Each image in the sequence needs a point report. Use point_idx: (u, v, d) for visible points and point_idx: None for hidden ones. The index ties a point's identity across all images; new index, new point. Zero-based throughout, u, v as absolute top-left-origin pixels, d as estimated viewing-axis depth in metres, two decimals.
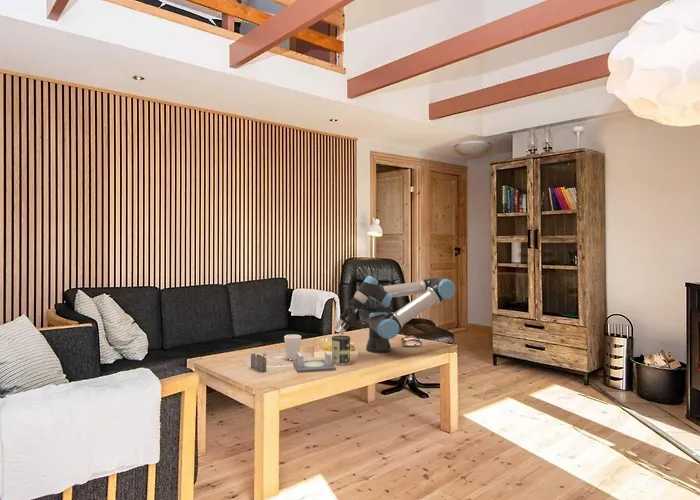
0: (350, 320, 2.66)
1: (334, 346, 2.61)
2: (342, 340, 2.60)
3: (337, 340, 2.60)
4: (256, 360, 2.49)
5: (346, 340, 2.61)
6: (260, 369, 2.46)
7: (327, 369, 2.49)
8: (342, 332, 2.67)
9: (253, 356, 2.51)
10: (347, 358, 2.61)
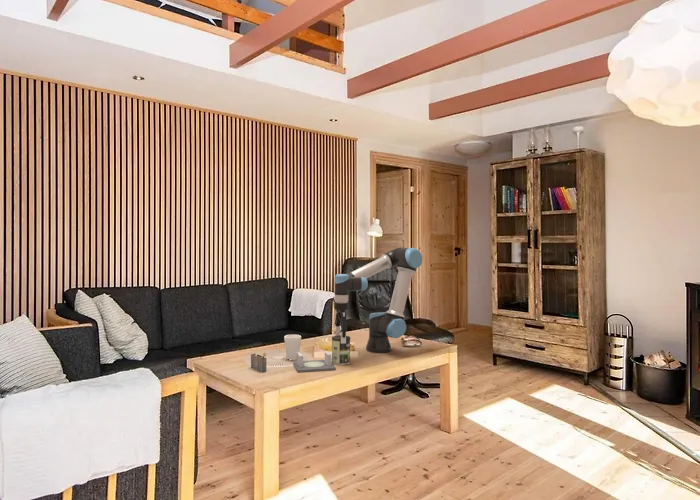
0: (344, 327, 2.55)
1: (334, 346, 2.61)
2: None
3: (337, 340, 2.60)
4: (256, 360, 2.49)
5: (346, 340, 2.61)
6: (260, 369, 2.46)
7: (327, 369, 2.49)
8: (344, 341, 2.58)
9: (253, 356, 2.51)
10: (347, 358, 2.61)
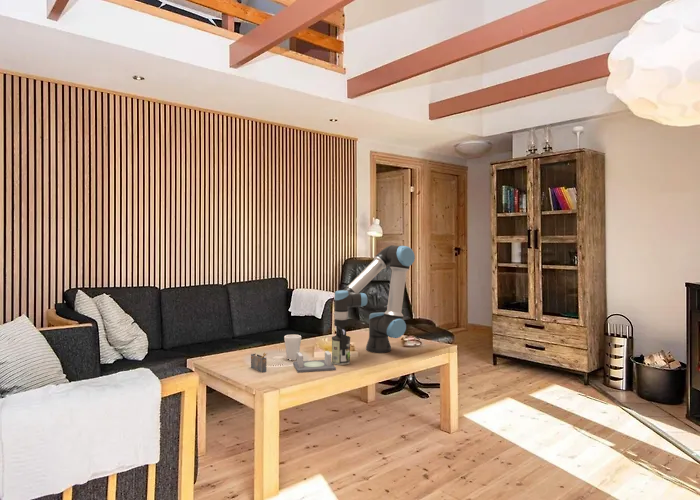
0: (344, 345, 2.56)
1: (334, 346, 2.61)
2: None
3: (337, 340, 2.60)
4: (256, 360, 2.49)
5: None
6: (260, 369, 2.46)
7: (327, 369, 2.49)
8: (344, 359, 2.59)
9: (253, 356, 2.51)
10: (347, 358, 2.61)
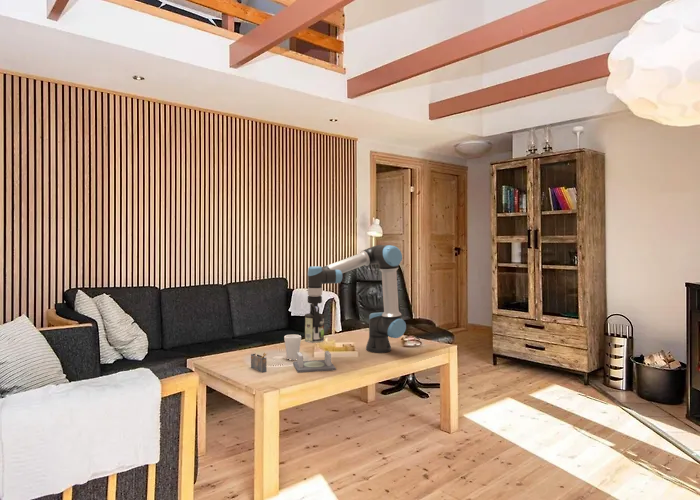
0: (316, 322, 2.47)
1: (307, 323, 2.52)
2: None
3: (310, 317, 2.50)
4: (256, 360, 2.49)
5: (319, 317, 2.51)
6: (260, 369, 2.46)
7: (327, 369, 2.49)
8: (317, 337, 2.50)
9: (253, 356, 2.51)
10: (320, 336, 2.52)
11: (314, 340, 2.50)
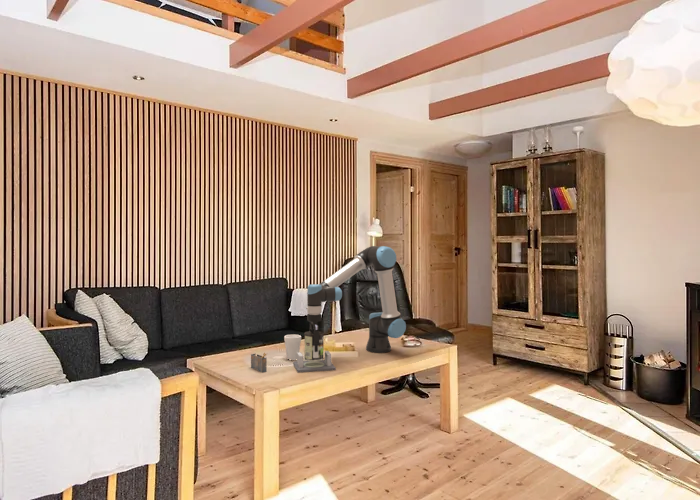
0: (316, 341, 2.47)
1: (306, 342, 2.52)
2: None
3: (309, 335, 2.51)
4: (256, 360, 2.49)
5: (319, 336, 2.51)
6: (260, 369, 2.46)
7: (327, 369, 2.49)
8: (316, 355, 2.50)
9: (253, 356, 2.51)
10: (320, 354, 2.52)
11: (314, 358, 2.51)
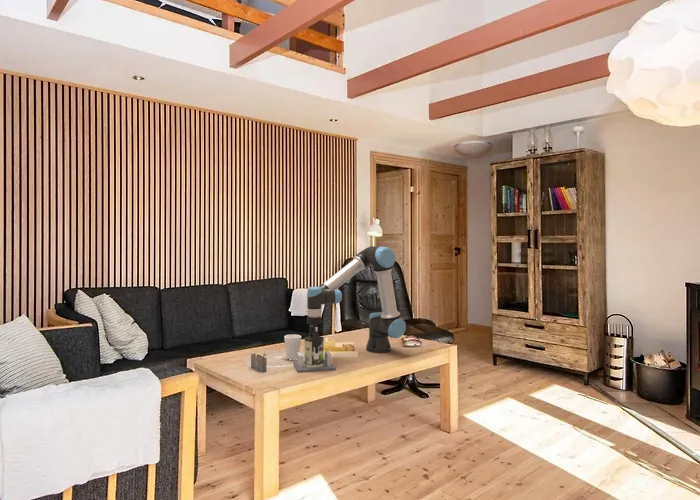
0: (316, 342, 2.46)
1: (306, 347, 2.52)
2: None
3: (309, 341, 2.51)
4: (256, 360, 2.49)
5: None
6: (260, 369, 2.46)
7: (327, 369, 2.49)
8: (317, 357, 2.49)
9: (253, 356, 2.51)
10: (319, 359, 2.52)
11: (313, 363, 2.51)
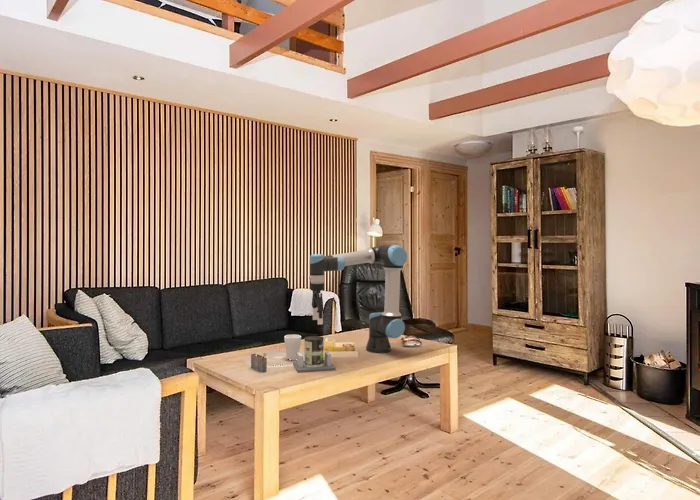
0: (320, 307, 2.50)
1: (306, 347, 2.52)
2: (315, 341, 2.51)
3: (309, 341, 2.51)
4: (256, 360, 2.49)
5: (319, 341, 2.52)
6: (260, 369, 2.46)
7: (327, 369, 2.49)
8: (321, 322, 2.52)
9: (253, 356, 2.51)
10: (319, 359, 2.52)
11: (313, 364, 2.51)
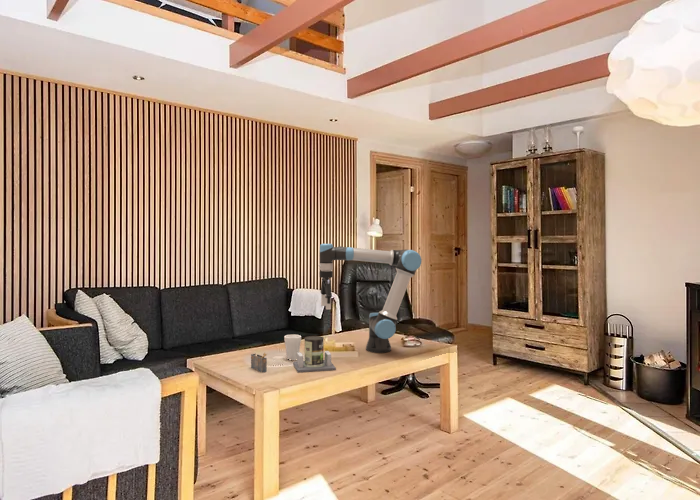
0: (328, 293, 2.66)
1: (306, 347, 2.52)
2: (315, 341, 2.51)
3: (309, 341, 2.51)
4: (256, 360, 2.49)
5: (319, 341, 2.52)
6: (260, 369, 2.46)
7: (327, 369, 2.49)
8: (329, 307, 2.68)
9: (253, 356, 2.51)
10: (319, 359, 2.52)
11: (313, 364, 2.51)
